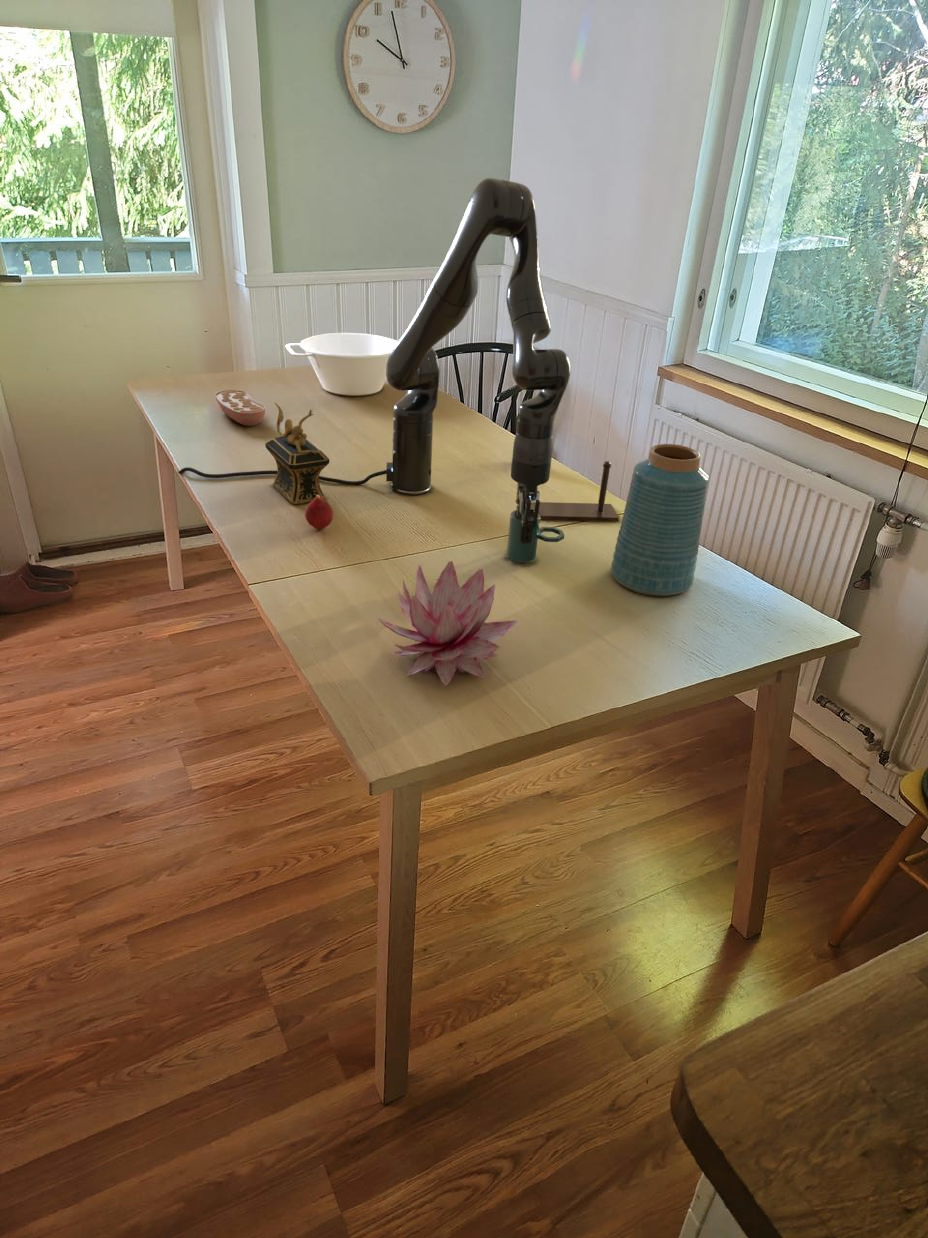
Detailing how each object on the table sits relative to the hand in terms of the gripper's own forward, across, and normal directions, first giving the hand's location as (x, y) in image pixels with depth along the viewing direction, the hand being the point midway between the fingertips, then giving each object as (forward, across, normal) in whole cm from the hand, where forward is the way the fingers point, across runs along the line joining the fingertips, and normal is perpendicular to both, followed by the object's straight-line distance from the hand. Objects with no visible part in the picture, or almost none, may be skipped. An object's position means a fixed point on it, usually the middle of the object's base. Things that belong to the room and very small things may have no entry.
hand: (523, 534), depth 170 cm
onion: (+6, -12, -42) cm, 44 cm away
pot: (+6, -120, -40) cm, 127 cm away
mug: (+5, 0, +3) cm, 5 cm away
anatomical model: (+6, -86, -70) cm, 111 cm away
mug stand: (+6, -24, +16) cm, 29 cm away
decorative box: (+6, -34, -49) cm, 60 cm away
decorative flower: (+6, +38, -18) cm, 42 cm away
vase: (+5, +8, +25) cm, 27 cm away
